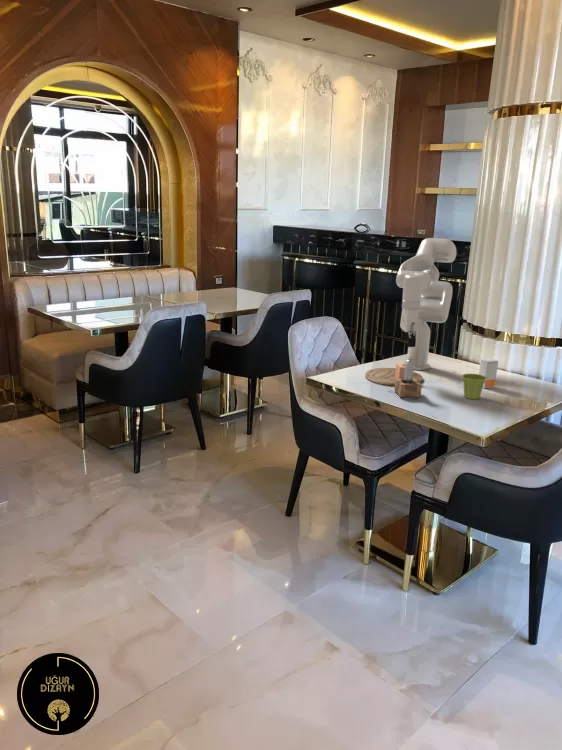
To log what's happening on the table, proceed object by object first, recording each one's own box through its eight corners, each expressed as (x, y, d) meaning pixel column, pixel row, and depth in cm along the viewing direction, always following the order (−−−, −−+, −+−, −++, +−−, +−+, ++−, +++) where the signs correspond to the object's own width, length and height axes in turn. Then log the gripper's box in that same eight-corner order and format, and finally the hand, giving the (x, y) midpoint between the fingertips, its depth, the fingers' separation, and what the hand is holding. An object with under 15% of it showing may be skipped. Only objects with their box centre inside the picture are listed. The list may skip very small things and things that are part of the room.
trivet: (429, 377, 278) (429, 373, 277) (411, 391, 257) (412, 387, 256) (377, 368, 289) (377, 364, 289) (356, 381, 268) (356, 377, 268)
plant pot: (466, 401, 245) (469, 380, 242) (455, 394, 254) (457, 373, 251) (488, 400, 247) (490, 379, 244) (476, 393, 255) (479, 373, 253)
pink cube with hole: (394, 376, 271) (396, 363, 269) (408, 376, 271) (409, 363, 270) (398, 380, 265) (400, 367, 263) (412, 380, 266) (413, 367, 264)
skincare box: (483, 388, 262) (487, 361, 258) (477, 385, 265) (480, 359, 262) (495, 387, 264) (498, 360, 260) (488, 384, 268) (492, 358, 264)
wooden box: (394, 392, 254) (395, 378, 252) (414, 392, 255) (415, 378, 253) (399, 399, 246) (401, 384, 244) (420, 399, 247) (421, 384, 245)
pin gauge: (401, 391, 252) (404, 358, 247) (410, 391, 252) (412, 358, 248) (404, 394, 248) (407, 361, 244) (412, 394, 249) (415, 361, 244)
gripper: (396, 299, 266) (394, 338, 272) (408, 309, 250) (405, 349, 256) (413, 299, 267) (410, 337, 273) (426, 308, 251) (422, 349, 256)
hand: (408, 343), depth 264 cm, fingers open, 9 cm apart
